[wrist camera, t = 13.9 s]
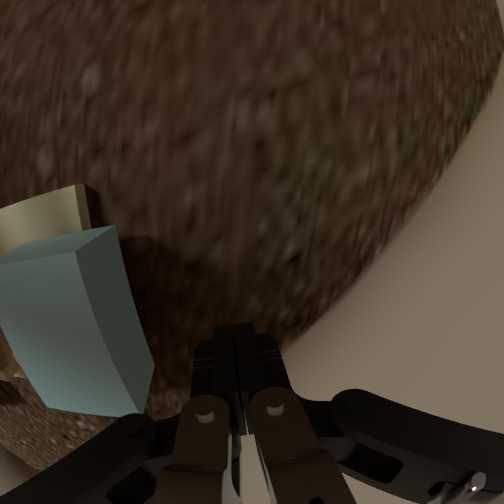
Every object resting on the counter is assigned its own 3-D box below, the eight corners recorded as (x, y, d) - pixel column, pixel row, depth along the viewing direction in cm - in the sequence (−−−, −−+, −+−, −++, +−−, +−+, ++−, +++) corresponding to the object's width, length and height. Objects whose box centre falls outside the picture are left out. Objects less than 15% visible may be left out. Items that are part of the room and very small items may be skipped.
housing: (70, 364, 15) (46, 406, 11) (25, 242, 12) (-21, 268, 8) (155, 365, 15) (142, 418, 11) (115, 224, 13) (74, 251, 8)
